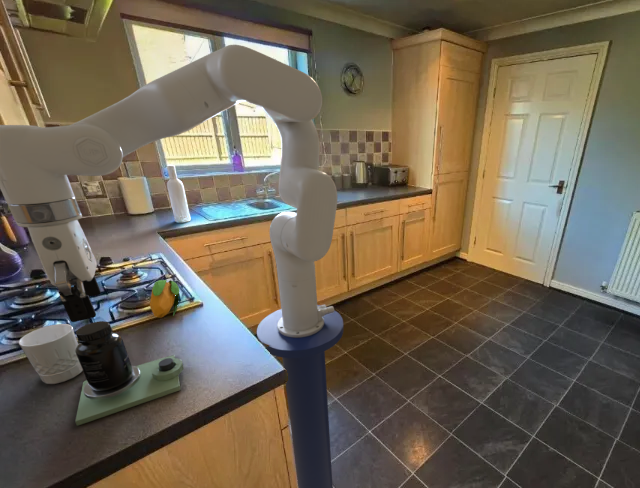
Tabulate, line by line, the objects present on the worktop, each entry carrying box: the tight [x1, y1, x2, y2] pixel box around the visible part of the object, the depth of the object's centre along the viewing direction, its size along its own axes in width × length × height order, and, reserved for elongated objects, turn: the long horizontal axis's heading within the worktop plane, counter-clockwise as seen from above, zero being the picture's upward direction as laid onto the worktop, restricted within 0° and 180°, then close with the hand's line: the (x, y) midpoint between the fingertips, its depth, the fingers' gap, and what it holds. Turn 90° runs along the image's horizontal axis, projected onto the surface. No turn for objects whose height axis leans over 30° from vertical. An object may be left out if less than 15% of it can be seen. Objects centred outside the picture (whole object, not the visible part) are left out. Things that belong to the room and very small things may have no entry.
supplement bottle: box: [75, 320, 133, 391], centre depth 62 cm, size 7×7×12 cm
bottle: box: [166, 164, 192, 224], centre depth 179 cm, size 8×8×30 cm
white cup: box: [18, 323, 83, 385], centre depth 68 cm, size 8×8×10 cm
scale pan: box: [83, 365, 141, 400], centre depth 64 cm, size 9×9×1 cm
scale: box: [74, 354, 184, 426], centre depth 67 cm, size 17×12×2 cm
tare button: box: [159, 358, 175, 372], centre depth 69 cm, size 3×3×2 cm
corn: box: [149, 279, 180, 319], centre depth 94 cm, size 7×8×20 cm
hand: (87, 306), depth 58 cm, fingers open, 9 cm apart
